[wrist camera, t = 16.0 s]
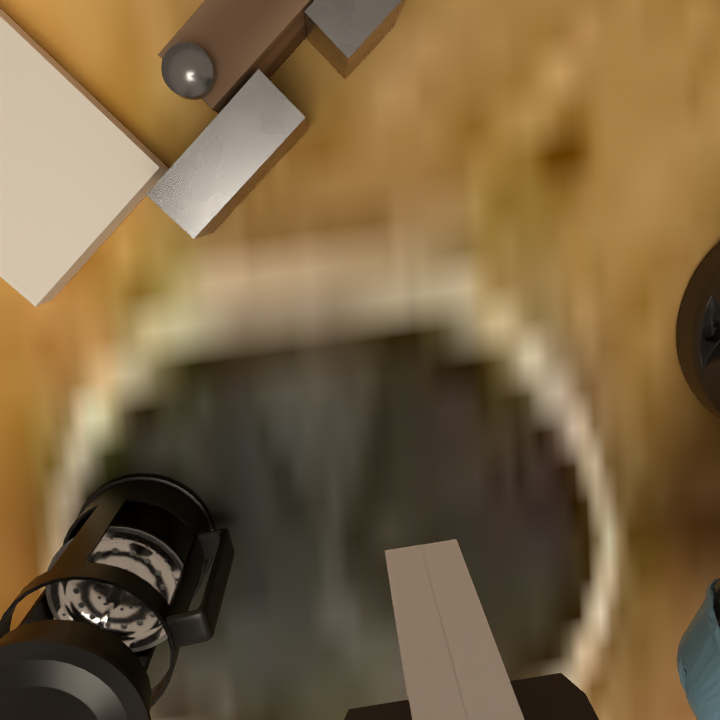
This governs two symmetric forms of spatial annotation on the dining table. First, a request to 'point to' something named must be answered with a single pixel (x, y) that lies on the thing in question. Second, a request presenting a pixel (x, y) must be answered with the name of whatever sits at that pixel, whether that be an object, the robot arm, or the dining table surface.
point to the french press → (112, 609)
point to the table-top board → (59, 169)
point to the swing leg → (243, 40)
